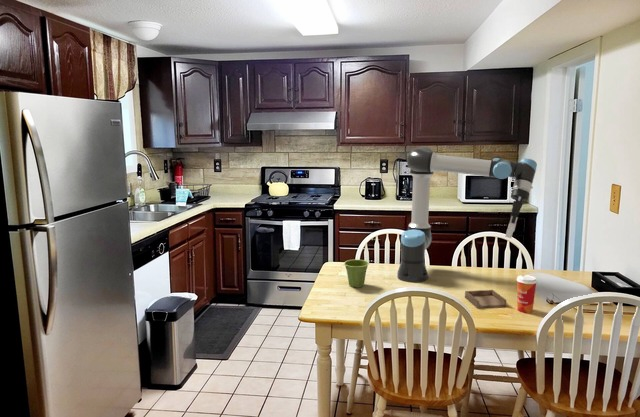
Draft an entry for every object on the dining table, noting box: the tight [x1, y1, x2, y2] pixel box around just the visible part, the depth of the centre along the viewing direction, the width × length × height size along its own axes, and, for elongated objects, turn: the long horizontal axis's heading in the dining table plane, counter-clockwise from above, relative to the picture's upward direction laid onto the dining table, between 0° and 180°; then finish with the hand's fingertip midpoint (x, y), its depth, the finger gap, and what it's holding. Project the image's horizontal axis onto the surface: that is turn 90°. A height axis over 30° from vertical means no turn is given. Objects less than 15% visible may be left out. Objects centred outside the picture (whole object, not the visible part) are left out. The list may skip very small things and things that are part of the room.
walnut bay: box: [464, 289, 507, 309], centre depth 197 cm, size 13×13×3 cm
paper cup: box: [516, 274, 538, 314], centre depth 187 cm, size 8×8×14 cm
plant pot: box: [343, 259, 370, 288], centre depth 221 cm, size 12×12×11 cm
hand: (509, 234), depth 209 cm, fingers open, 13 cm apart
